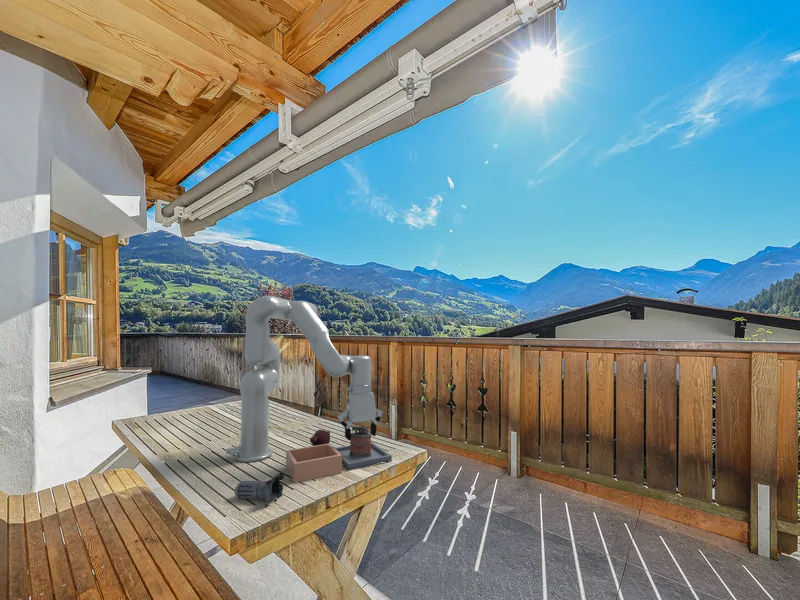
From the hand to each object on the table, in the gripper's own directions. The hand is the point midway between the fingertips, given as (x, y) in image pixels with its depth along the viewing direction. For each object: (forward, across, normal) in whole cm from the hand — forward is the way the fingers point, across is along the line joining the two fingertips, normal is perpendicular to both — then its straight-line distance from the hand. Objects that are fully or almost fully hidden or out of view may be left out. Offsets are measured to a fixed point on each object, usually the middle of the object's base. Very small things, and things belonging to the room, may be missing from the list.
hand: (360, 437), depth 124 cm
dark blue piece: (+8, -36, -15) cm, 40 cm away
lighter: (+6, 0, 0) cm, 7 cm away
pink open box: (+7, -18, -3) cm, 20 cm away
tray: (+7, 0, 0) cm, 7 cm away
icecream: (+7, -10, +19) cm, 23 cm away
